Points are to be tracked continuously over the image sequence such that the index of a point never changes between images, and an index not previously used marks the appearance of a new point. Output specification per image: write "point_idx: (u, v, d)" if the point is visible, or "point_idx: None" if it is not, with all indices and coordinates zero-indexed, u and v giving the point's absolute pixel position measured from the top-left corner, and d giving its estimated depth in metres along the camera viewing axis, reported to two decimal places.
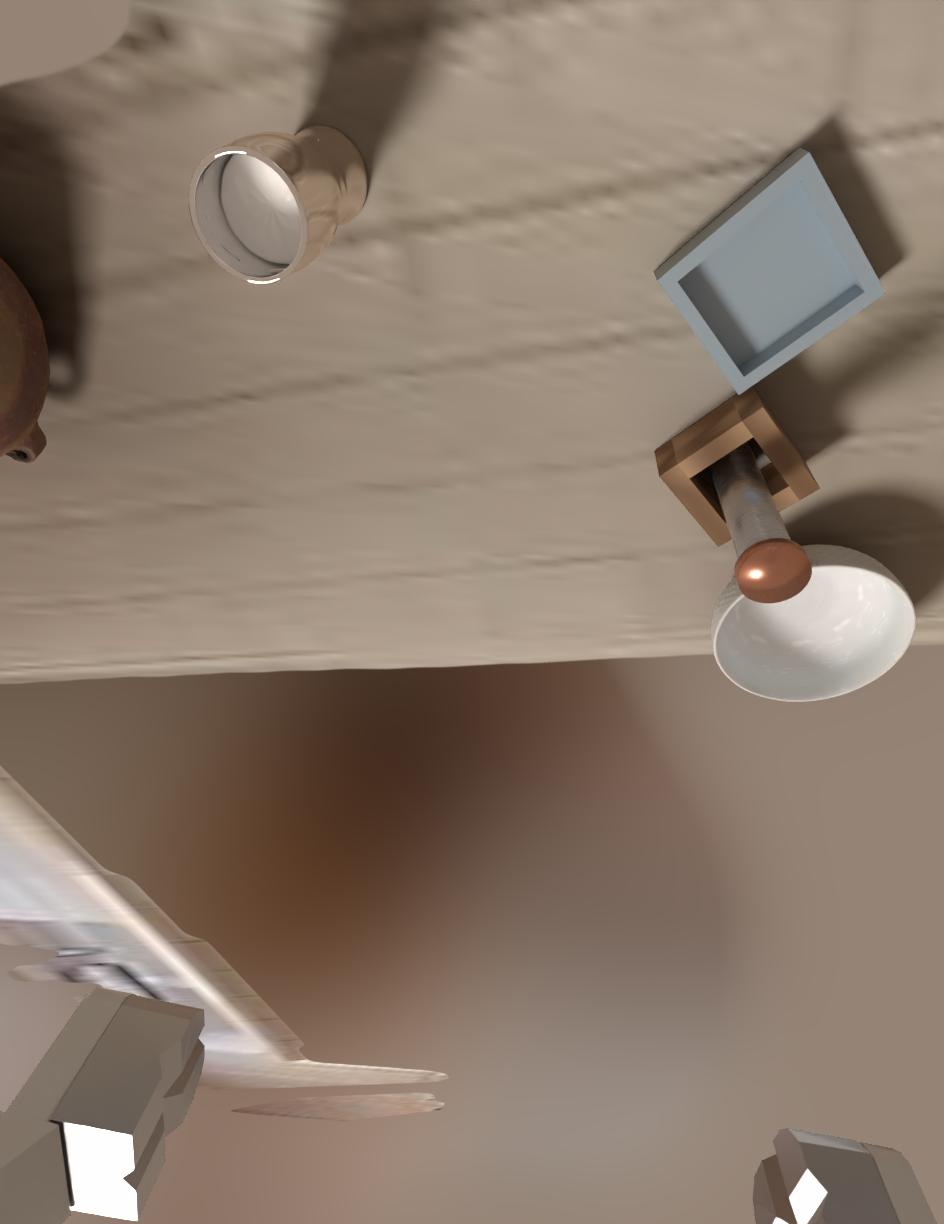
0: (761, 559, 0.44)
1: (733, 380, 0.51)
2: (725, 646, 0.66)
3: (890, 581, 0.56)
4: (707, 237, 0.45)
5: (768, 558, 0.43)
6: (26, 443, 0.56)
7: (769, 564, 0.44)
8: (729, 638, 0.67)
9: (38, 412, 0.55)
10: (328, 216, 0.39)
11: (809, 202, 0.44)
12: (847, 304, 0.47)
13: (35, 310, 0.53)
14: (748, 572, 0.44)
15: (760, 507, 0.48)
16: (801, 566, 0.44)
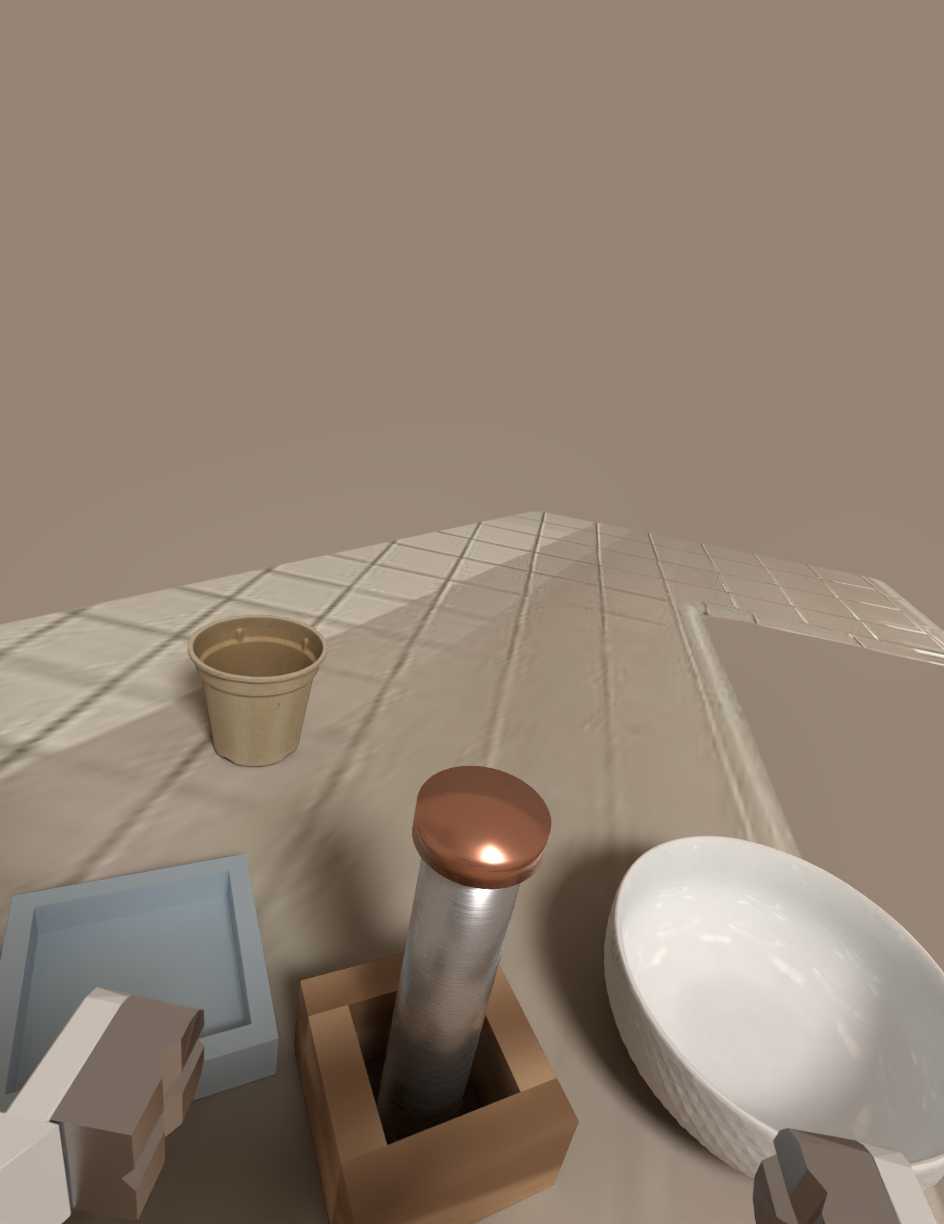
0: (435, 816, 0.22)
1: (246, 1040, 0.29)
2: None
3: (649, 853, 0.37)
4: None
5: (436, 807, 0.22)
6: None
7: (451, 809, 0.22)
8: None
9: None
10: None
11: (86, 924, 0.34)
12: (232, 887, 0.36)
13: None
14: (459, 839, 0.21)
15: None
16: (471, 775, 0.24)
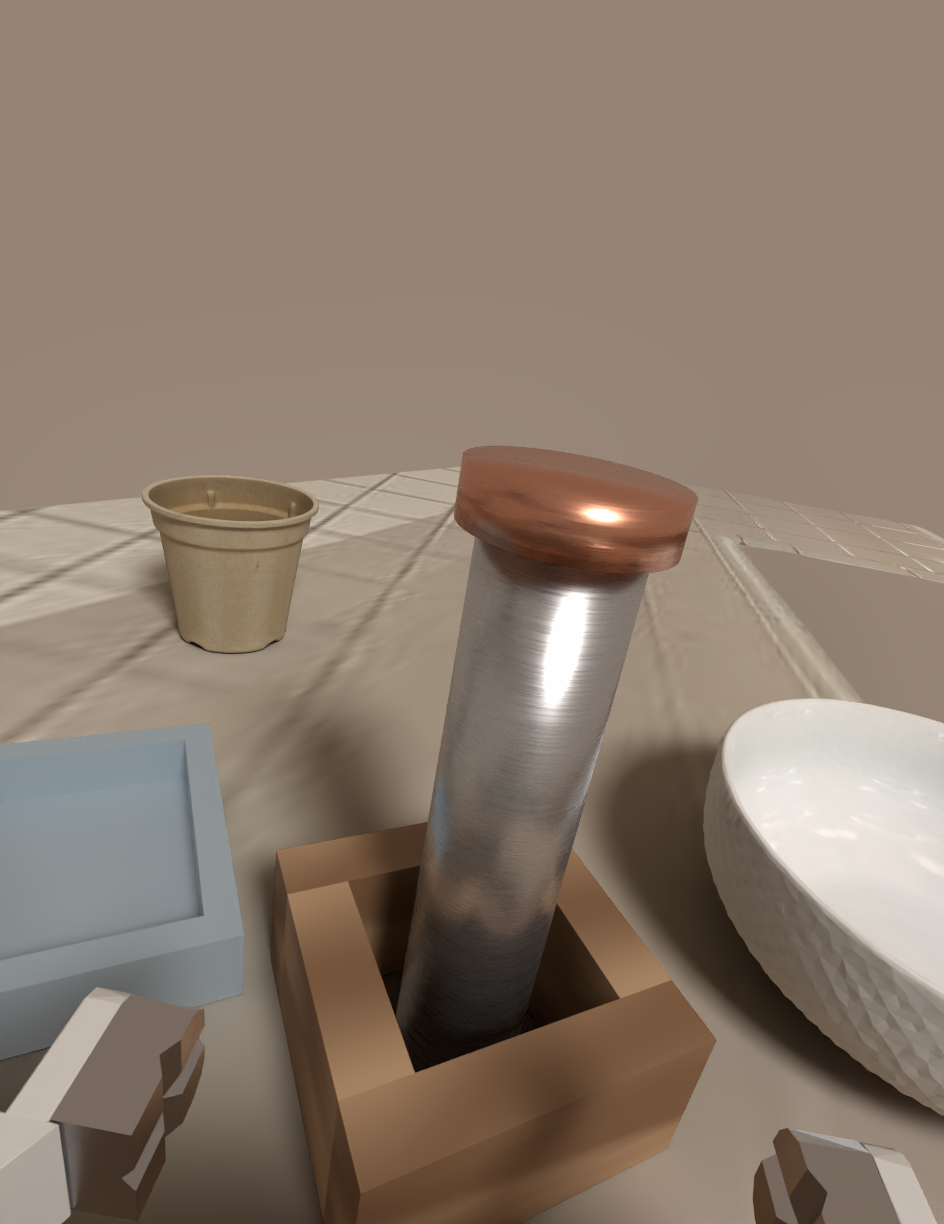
0: (497, 466, 0.12)
1: (195, 936, 0.19)
2: None
3: (752, 712, 0.28)
4: None
5: (497, 462, 0.13)
6: None
7: (523, 466, 0.13)
8: None
9: None
10: None
11: None
12: (187, 757, 0.26)
13: None
14: (546, 484, 0.12)
15: (448, 703, 0.16)
16: (547, 454, 0.15)
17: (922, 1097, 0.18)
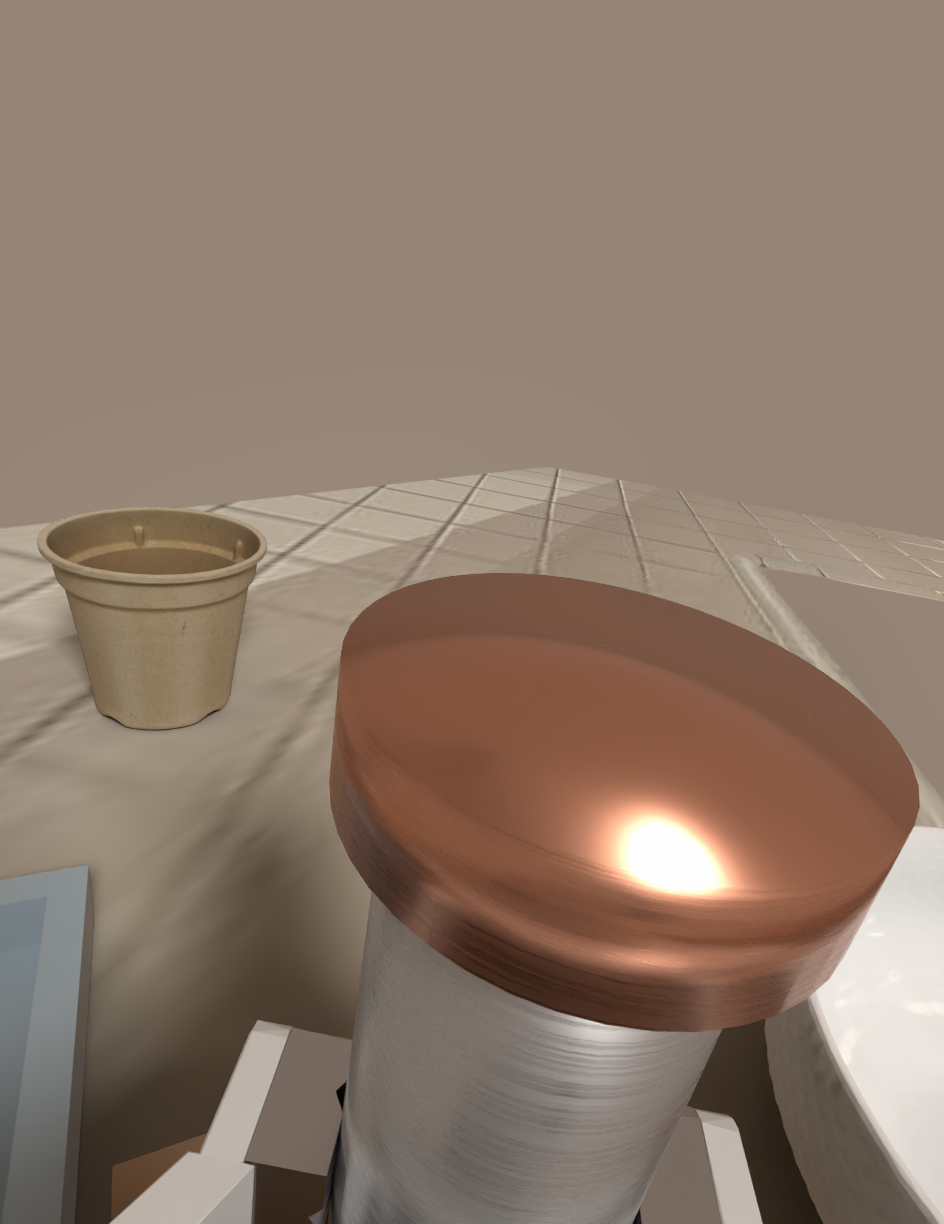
0: (416, 687, 0.05)
1: None
2: None
3: None
4: None
5: (424, 661, 0.05)
6: None
7: (486, 669, 0.05)
8: None
9: None
10: None
11: None
12: (44, 929, 0.19)
13: None
14: (539, 779, 0.04)
15: None
16: (543, 593, 0.07)
17: None
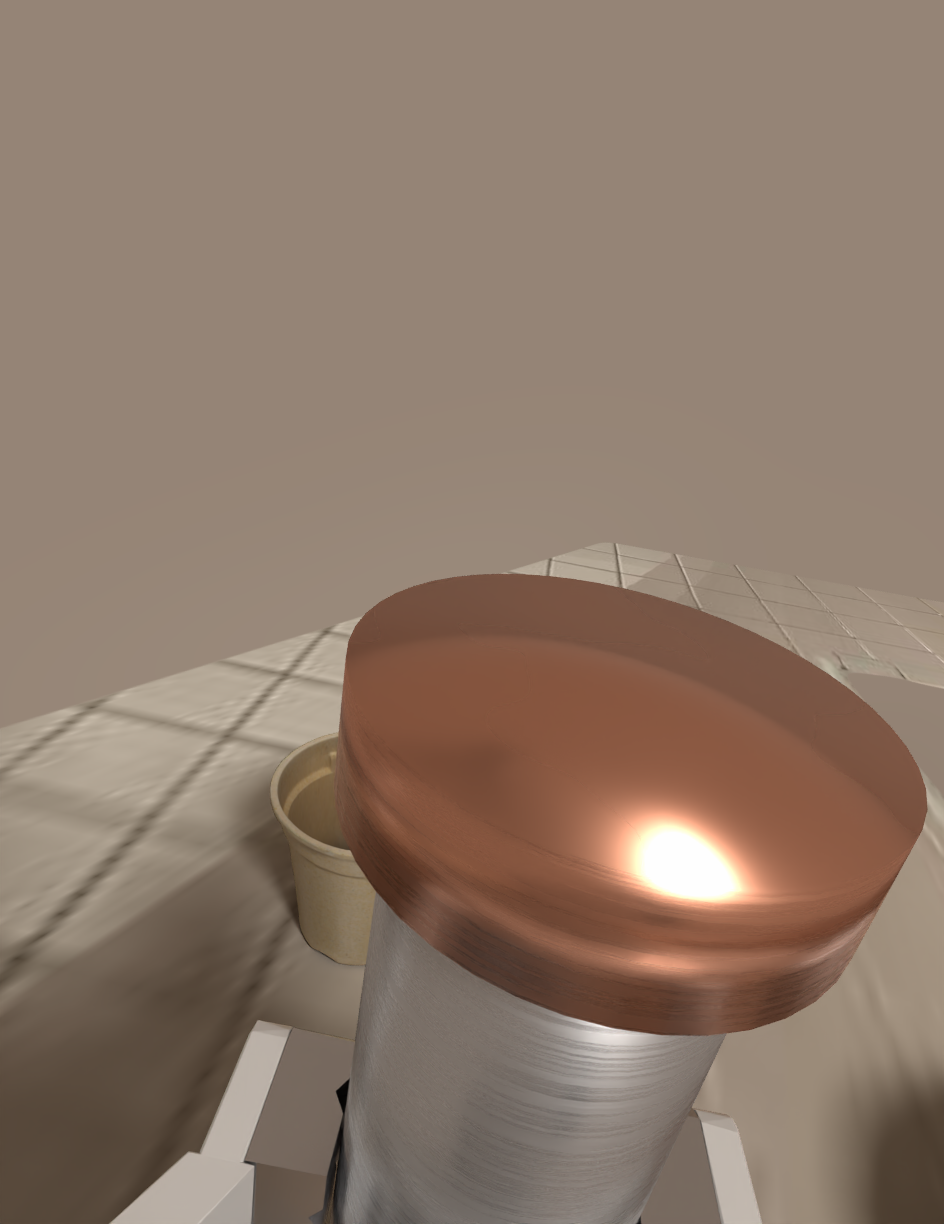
0: (423, 688, 0.05)
1: None
2: None
3: None
4: None
5: (429, 663, 0.05)
6: None
7: (492, 670, 0.05)
8: None
9: None
10: None
11: None
12: None
13: None
14: (545, 782, 0.04)
15: None
16: (547, 594, 0.07)
17: None
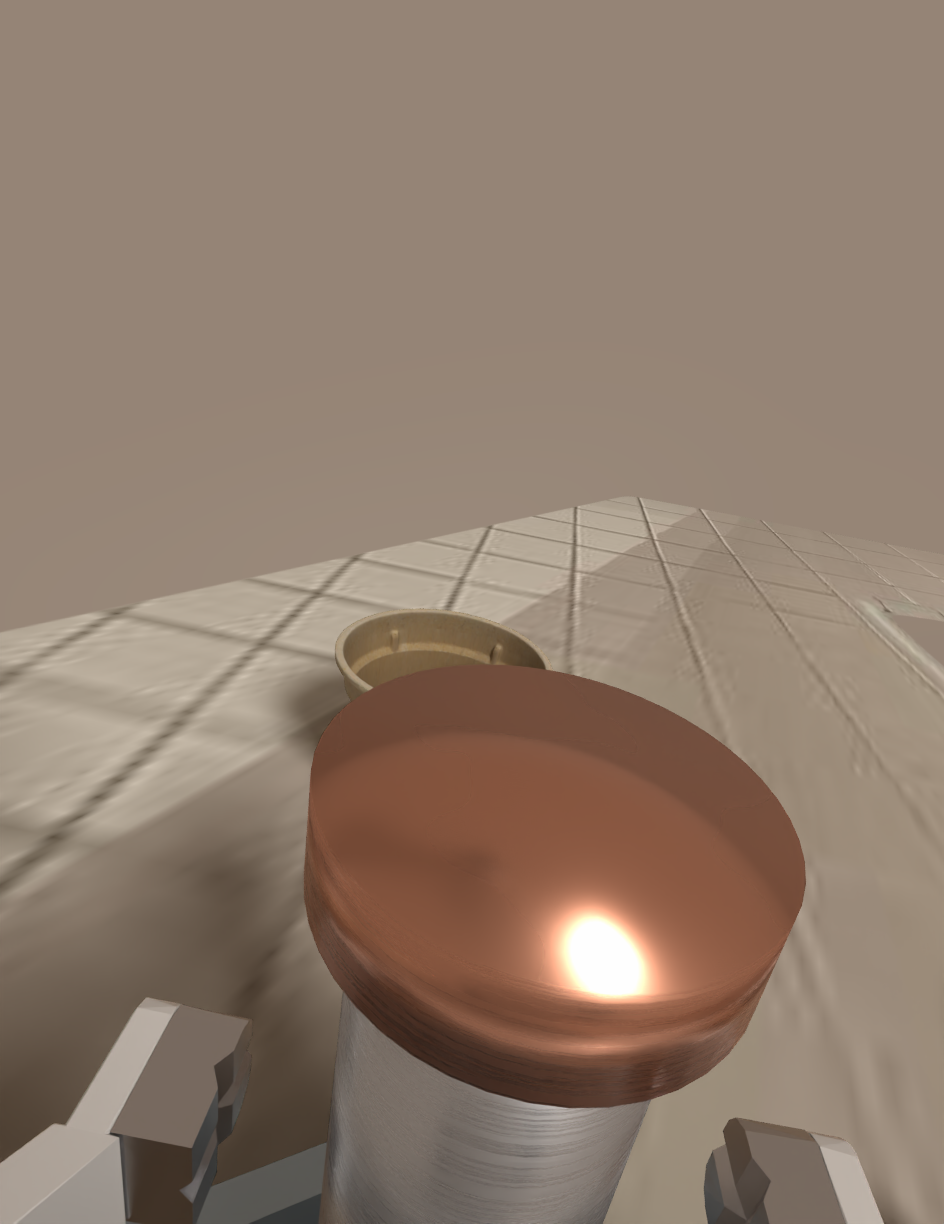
0: (377, 800, 0.06)
1: None
2: None
3: None
4: None
5: (384, 771, 0.06)
6: None
7: (439, 776, 0.06)
8: None
9: None
10: None
11: None
12: None
13: None
14: (472, 892, 0.05)
15: None
16: (500, 686, 0.08)
17: None
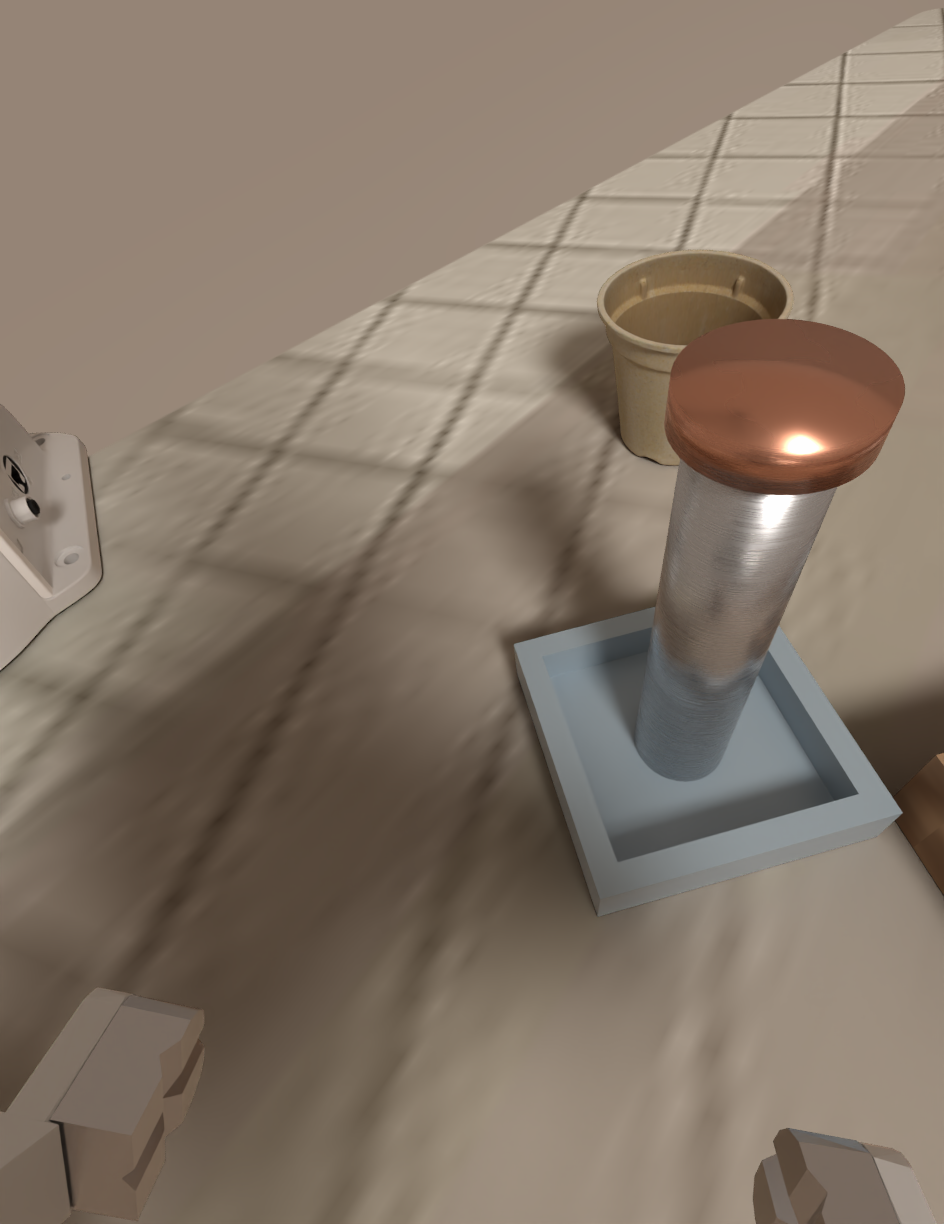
0: (701, 395, 0.14)
1: (863, 814, 0.23)
2: None
3: None
4: (563, 792, 0.25)
5: (702, 384, 0.14)
6: None
7: (727, 383, 0.14)
8: None
9: None
10: None
11: (588, 667, 0.30)
12: None
13: None
14: (745, 423, 0.13)
15: None
16: (756, 333, 0.15)
17: None
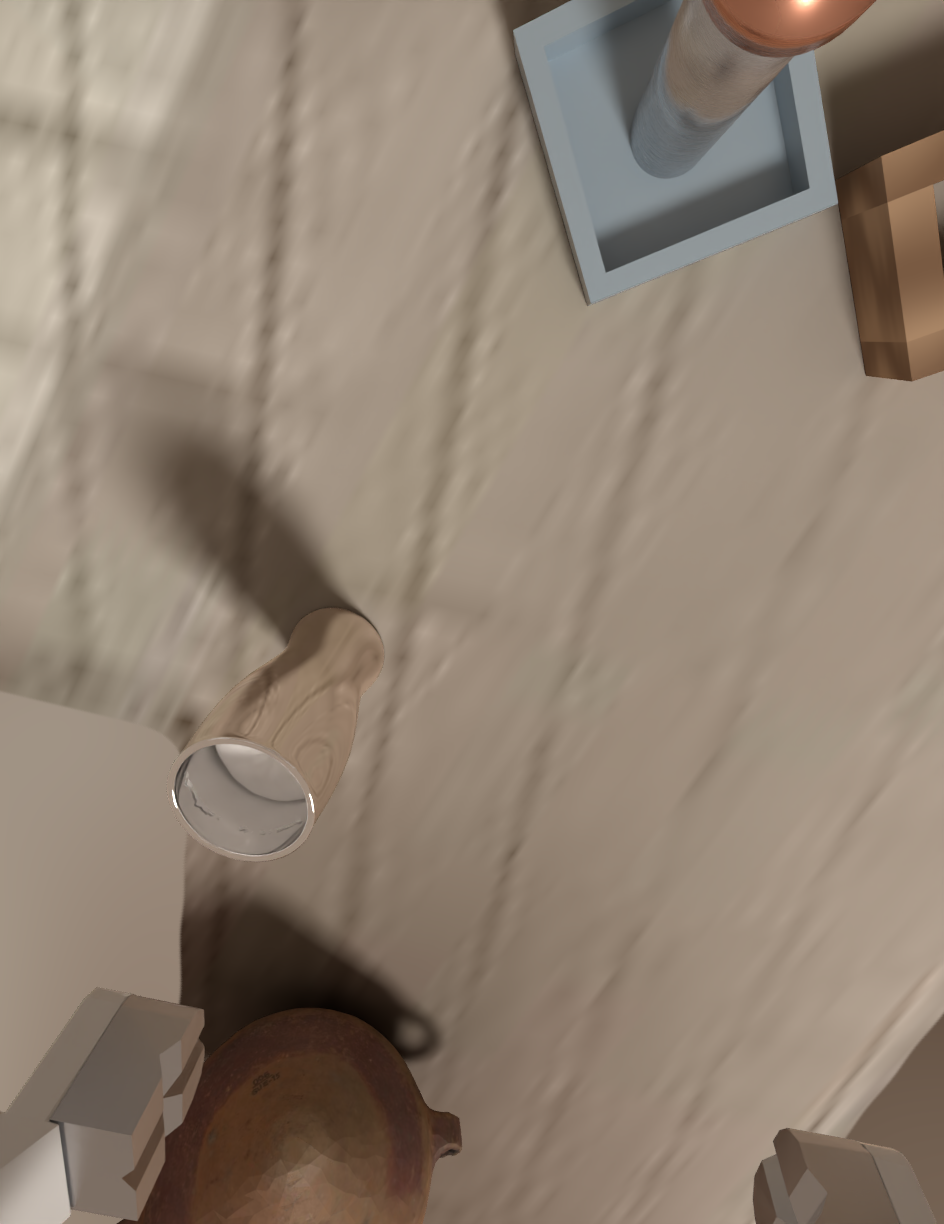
0: None
1: (806, 208, 0.29)
2: None
3: None
4: (564, 212, 0.30)
5: None
6: (438, 1144, 0.48)
7: None
8: None
9: (418, 1106, 0.49)
10: (298, 702, 0.30)
11: (590, 40, 0.29)
12: None
13: (347, 1020, 0.51)
14: None
15: (683, 0, 0.19)
16: None
17: None
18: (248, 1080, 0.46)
